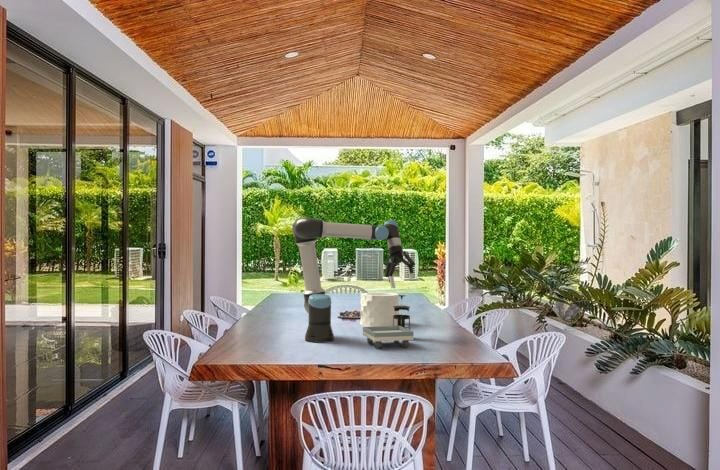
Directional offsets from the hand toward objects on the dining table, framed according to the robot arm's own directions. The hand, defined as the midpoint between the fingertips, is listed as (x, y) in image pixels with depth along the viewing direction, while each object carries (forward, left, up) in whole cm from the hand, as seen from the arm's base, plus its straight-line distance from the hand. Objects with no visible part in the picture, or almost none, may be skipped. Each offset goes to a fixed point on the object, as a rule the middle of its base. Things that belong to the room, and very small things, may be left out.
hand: (402, 283), depth 329 cm
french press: (-1, -1, -29) cm, 29 cm away
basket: (+2, +48, -29) cm, 56 cm away
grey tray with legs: (-15, -20, -29) cm, 38 cm away
